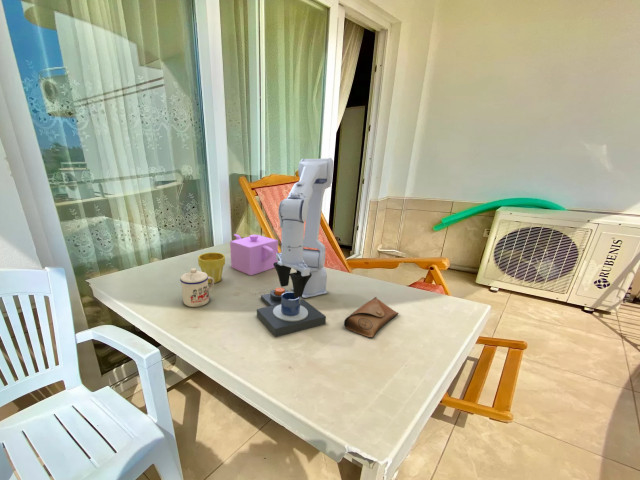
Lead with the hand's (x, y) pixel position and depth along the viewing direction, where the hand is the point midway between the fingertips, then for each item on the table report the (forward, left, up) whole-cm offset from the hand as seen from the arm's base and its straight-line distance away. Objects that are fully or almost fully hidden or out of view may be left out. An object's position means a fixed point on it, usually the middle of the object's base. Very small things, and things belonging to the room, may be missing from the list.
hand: (290, 290), depth 85 cm
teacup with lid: (+21, -24, -10) cm, 33 cm away
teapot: (-8, -46, -10) cm, 48 cm away
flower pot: (+12, -39, -10) cm, 42 cm away
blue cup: (0, 0, -6) cm, 7 cm away
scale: (0, 0, -9) cm, 9 cm away
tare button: (-3, -12, -7) cm, 14 cm away
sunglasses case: (-21, +10, -10) cm, 25 cm away
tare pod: (-3, -12, -9) cm, 16 cm away
